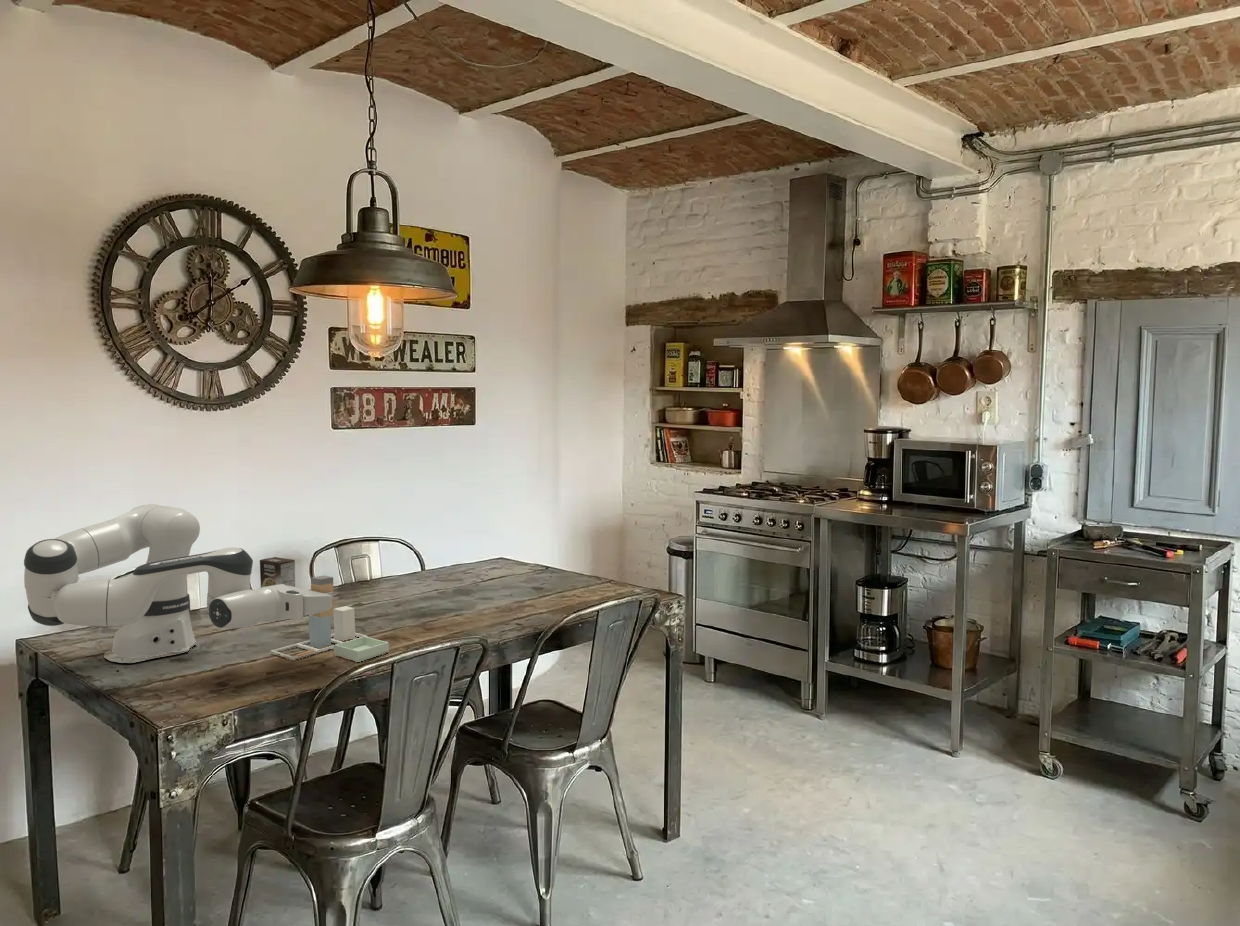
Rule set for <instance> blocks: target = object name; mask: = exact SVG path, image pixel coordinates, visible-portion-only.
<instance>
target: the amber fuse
mask: <svg viewBox="0 0 1240 926" xmlns="http://www.w3.org/2000/svg"><path fill="white" fill-rule="evenodd" d="M310 590H311V591H315V592H320V593H324V592H333V593H334V577H333V576H328V575H319V576H313V577H310ZM334 605H335V604H334V598H333V599H332V607H331V608H330V609H329V610H327V611H324V612H320V613H316V614H312V615H311V616H315V617H319V618H322V617H327V616H330V617H331V616H334V609H335V608H334Z"/></svg>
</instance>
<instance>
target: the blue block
mask: <svg viewBox="0 0 1240 926" xmlns="http://www.w3.org/2000/svg"><path fill="white" fill-rule="evenodd" d="M331 621H332V620H331V616H327V617H322V618H319V617H315V616H311V615H308V629H309V630H308V631H309V637H308V638H309V640H310V644H309V646H314V647H317V648H321V647H324V646H327V645H331V646H332V644H331V639H332V638H331V634H332V631H331V629H332V628H331V627H332V626H331V623H332V622H331Z"/></svg>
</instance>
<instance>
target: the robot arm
mask: <svg viewBox="0 0 1240 926" xmlns="http://www.w3.org/2000/svg"><path fill="white" fill-rule="evenodd" d="M200 526H201V525H200V522H199V520H198V518H197V517H196V516H195V515H193V514H192V513H191V512H189V511H187V510H185V509H183V508H180V507H172V506H167V505H159V504H153V503H152V504H151V503H150V504H143V505H138V506H136V507H133V508H132V509H130V510H129V511H126V512H125V513H123V514H121V515H118V516H116V517H114V518H112V519H109V520H106V521H102V522H98V523H96V524H92V525H88V526H86V527H82V528H79V529H76V530H72V531H70V532H67V533H64V534H62V535H60V536H57V537H55V538H48V539H42V540H40V541H37V542H35V543H34V544H33V545H31V546H30V547H29V548H28V549H27V550H26V553H25V555H24V560H23V566H24V573H23V575H24V580H23V582H24V585H23V586H24V588H25V595H26V599H27V609H28V613H29V615H30V618H31V619H32V620H33V621H34V622H36V623H37V624H40V625H43V626H46V627H47V626H48V627H56V626H61V625H73V626H82V627H84V626H85V627H118V626H119V627H120V626H121V627H120V628H119V629H118V630H116V632H115V633H114V637H113V639H112V647H111V648H112V649H111V650H112V652H113V653H114V654H116V655H118V656H121V657H125V658H134V657H140V656H145V658H148V657H152V656H159V655H163V654H167V653H166V652H182V651H187V650H189V648H190V646H192V645H193V644H194V643H195V642H196V643H197V641H196V638H195V634H194V632H193V628H192V622H191V616H190V615H191V614H190V613H191V599H190V598H191V597H190V594H189V592H188V575H193V574H199V573H204V572H206V573H207V574H208V575H207V576H208V577H207V581H208V582H207V594H206V595H207V596H206V609H207V614H208V616H209V619H210V621H211V623H212V624H213V625H214V626H215V627H216V628H219V629H222V630H223V629H239V628H246V627H251V626H255V625H256V626H257V625H258V624H259V623H273V622H276V621H277V622H278V621H284V620H287V621H289V620H290V621H291V620H293V621H294V620H295V621H296V620H302V619H304V617H305V616H309V615H312V614H316V613H320V612H324V611H327V610H329V609H330V608H331V607H332V599H333V600H334V591H333V592H324V593H320V592H315V591H311V589H306V588H301V587H297V586H295V587H292V586H286V585H284V584H278V585H273V586H266V587H262V588H261V587H260V588H258V589H251V575H252V570H253V563H254V560H253V558H252V557H251V556H250V554H249V553H248V552H247V551H246V550H244V549H243V548H240V547H225V548H221V549H217V550H212V551H208V552H203V553H198V554H191V555H190V553H191V550H192V546H193V544H194V543H195V542H196V541H197V540H198V537H199V535H200V534H201V533H200V532H201V527H200ZM146 548H149V550H148V555H147V560H146V563H144V564H141V565H139V566H136V568H135V569H134V570H133V572H132V573H130V574H128V575H126V576H124V577H123V576H122V577H118V578H115V579H114V578H113V579H112V578H110V579H109V578H106V579H95V580H93V579H92V580H85V581H82V580H80V577H79V575H82V574H86V573H89V572H94V571H96V570H99V569H102V568H105V567H108V566H111V565H114V564H117V563H120V562H123V561H127V560H128V559H129V557H130V556H131V555H133V554H135V553H137V552H139V551H141V550H144V549H146ZM178 650H180V651H178ZM156 653H157V654H156ZM151 654H152V655H151ZM147 656H148V657H147Z"/></svg>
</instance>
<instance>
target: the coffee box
mask: <svg viewBox="0 0 1240 926" xmlns="http://www.w3.org/2000/svg"><path fill="white" fill-rule="evenodd" d="M295 561H296V560H295V559H291V558H284V557H276V556H274V557H267V558H264V559H262V558H261V559H260V560H259V574H260V588H262V587H266V586H273V585H278V584H284V585H286V586H292V587H296V566H295V565H296V563H295Z"/></svg>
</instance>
